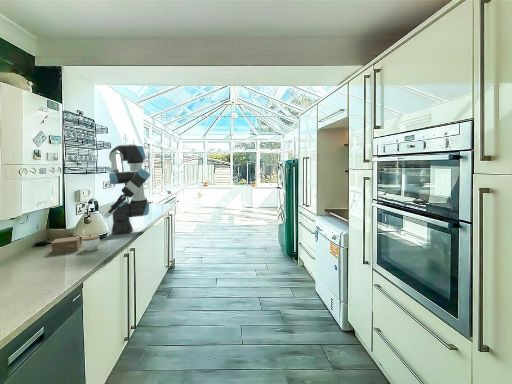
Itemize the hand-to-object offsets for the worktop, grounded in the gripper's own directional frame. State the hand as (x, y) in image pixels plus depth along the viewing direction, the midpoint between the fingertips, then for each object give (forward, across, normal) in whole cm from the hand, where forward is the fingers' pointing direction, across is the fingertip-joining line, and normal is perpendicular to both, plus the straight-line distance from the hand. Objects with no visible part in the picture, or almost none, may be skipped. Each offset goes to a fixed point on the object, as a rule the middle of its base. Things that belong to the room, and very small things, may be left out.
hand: (107, 215), depth 246 cm
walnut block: (+32, +3, +4) cm, 32 cm away
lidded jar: (+21, -3, -6) cm, 22 cm away
